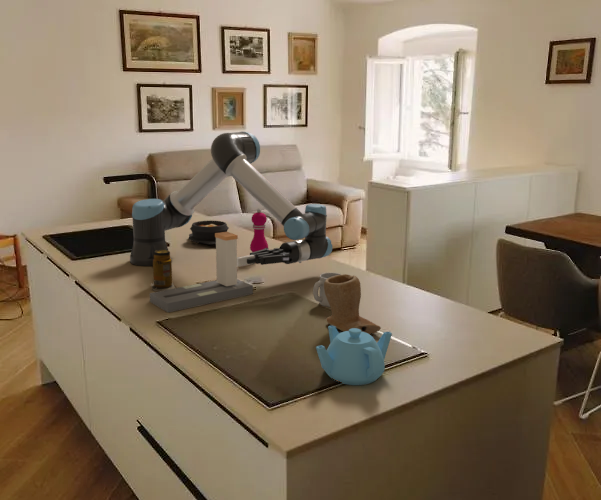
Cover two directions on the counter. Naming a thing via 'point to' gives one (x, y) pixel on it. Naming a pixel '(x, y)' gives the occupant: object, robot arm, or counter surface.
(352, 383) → the teapot
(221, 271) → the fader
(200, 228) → the casserole
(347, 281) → the brown boot
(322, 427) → the counter surface
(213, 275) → the counter surface
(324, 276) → the cup
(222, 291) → the console
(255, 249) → the pepper mill
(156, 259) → the condiment
